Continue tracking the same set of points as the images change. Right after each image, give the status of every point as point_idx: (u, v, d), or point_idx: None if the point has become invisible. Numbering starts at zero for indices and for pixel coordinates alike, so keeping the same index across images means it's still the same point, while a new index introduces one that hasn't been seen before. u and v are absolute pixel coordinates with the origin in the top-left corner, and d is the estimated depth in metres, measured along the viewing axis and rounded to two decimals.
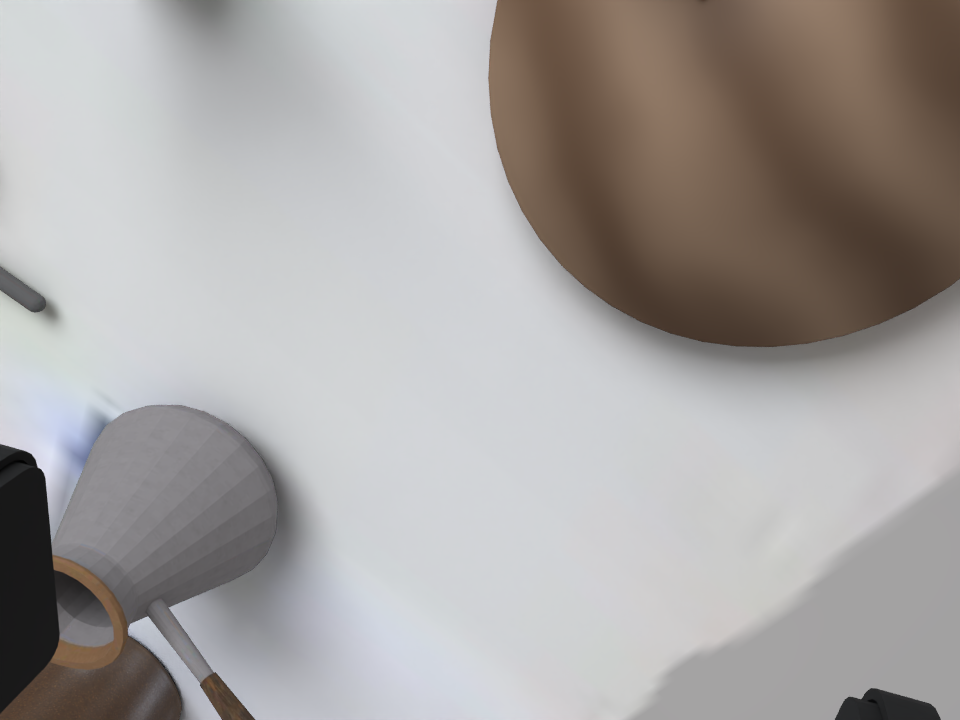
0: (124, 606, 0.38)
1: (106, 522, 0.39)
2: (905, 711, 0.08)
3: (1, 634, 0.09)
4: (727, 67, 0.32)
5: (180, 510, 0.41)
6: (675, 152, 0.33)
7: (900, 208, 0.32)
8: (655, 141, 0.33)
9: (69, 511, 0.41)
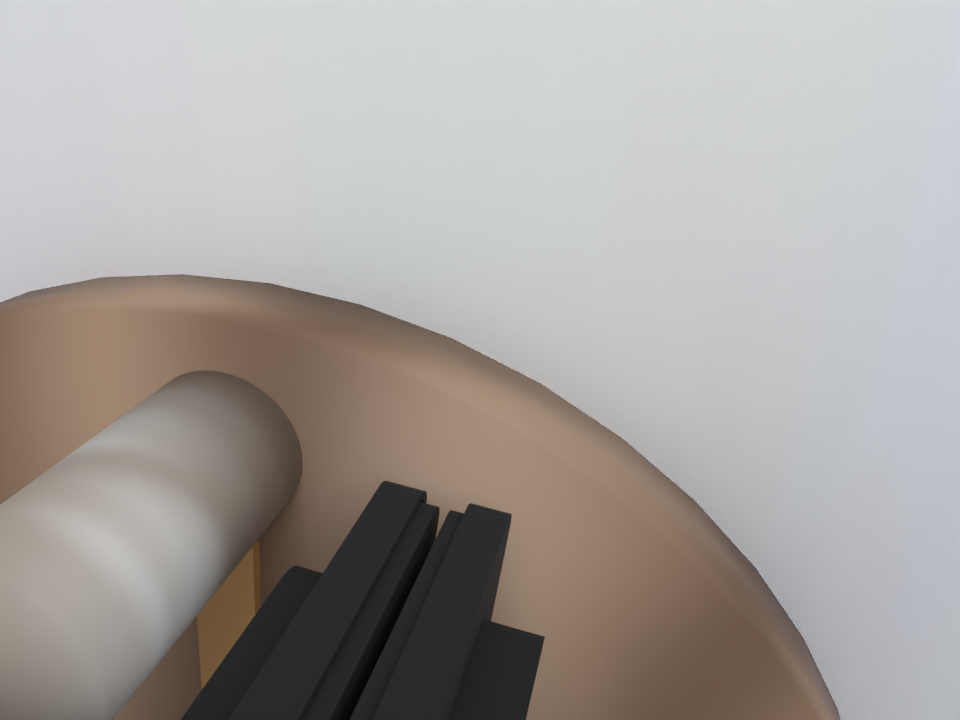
0: None
1: None
2: (480, 514, 0.09)
3: None
4: None
5: None
6: None
7: None
8: None
9: None
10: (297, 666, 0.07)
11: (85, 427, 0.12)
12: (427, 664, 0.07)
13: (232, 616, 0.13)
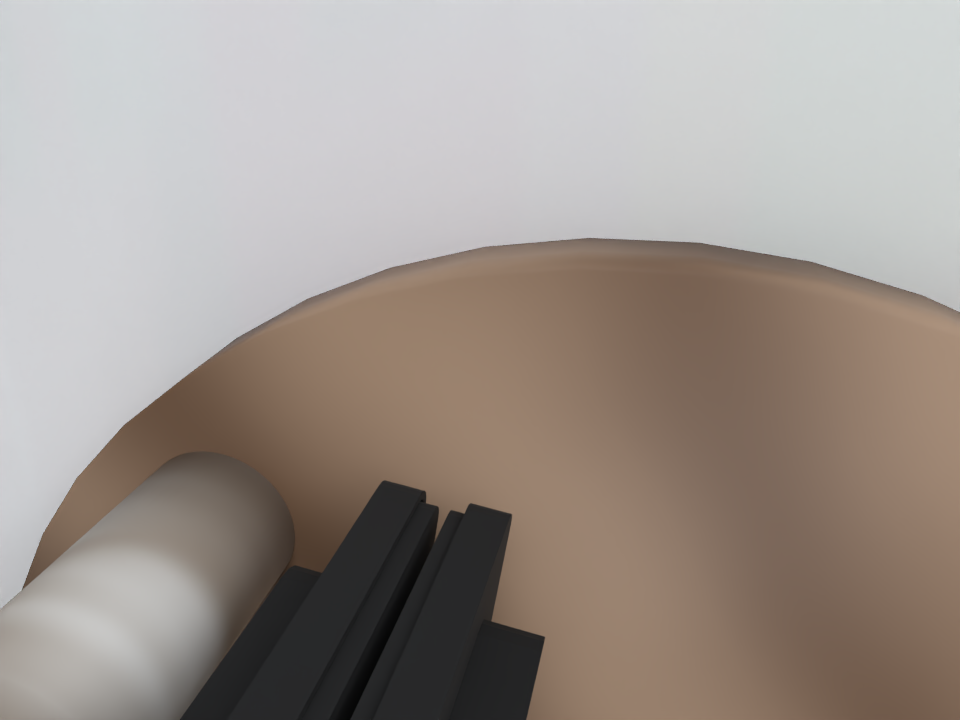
0: None
1: None
2: (480, 515, 0.09)
3: None
4: None
5: None
6: None
7: None
8: None
9: None
10: (296, 665, 0.07)
11: None
12: (428, 665, 0.07)
13: None
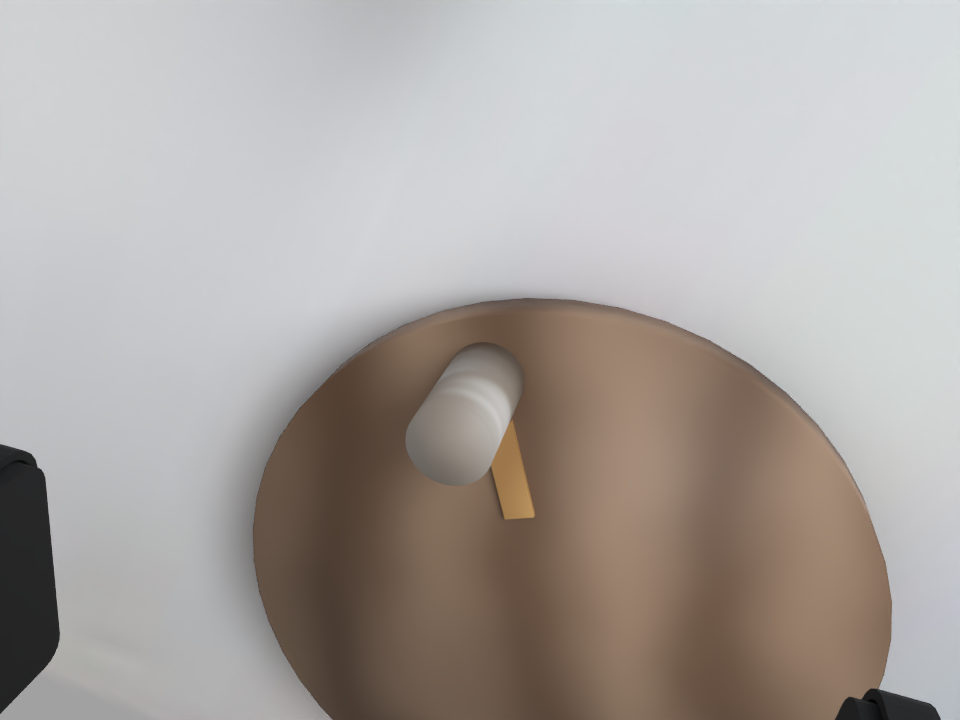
0: None
1: None
2: (905, 711, 0.08)
3: (1, 634, 0.09)
4: (509, 582, 0.28)
5: None
6: (431, 621, 0.30)
7: None
8: (415, 603, 0.30)
9: None
10: None
11: (420, 390, 0.26)
12: None
13: (508, 463, 0.26)
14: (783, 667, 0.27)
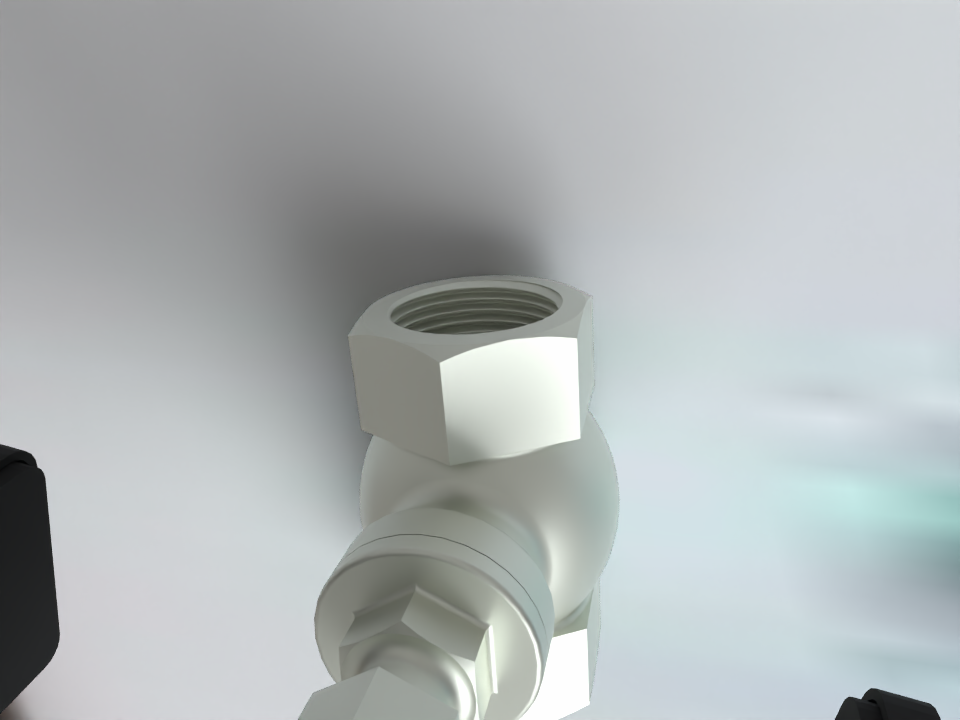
0: None
1: None
2: (905, 711, 0.08)
3: (1, 634, 0.09)
4: None
5: None
6: None
7: None
8: None
9: None
10: None
11: None
12: None
13: None
14: None
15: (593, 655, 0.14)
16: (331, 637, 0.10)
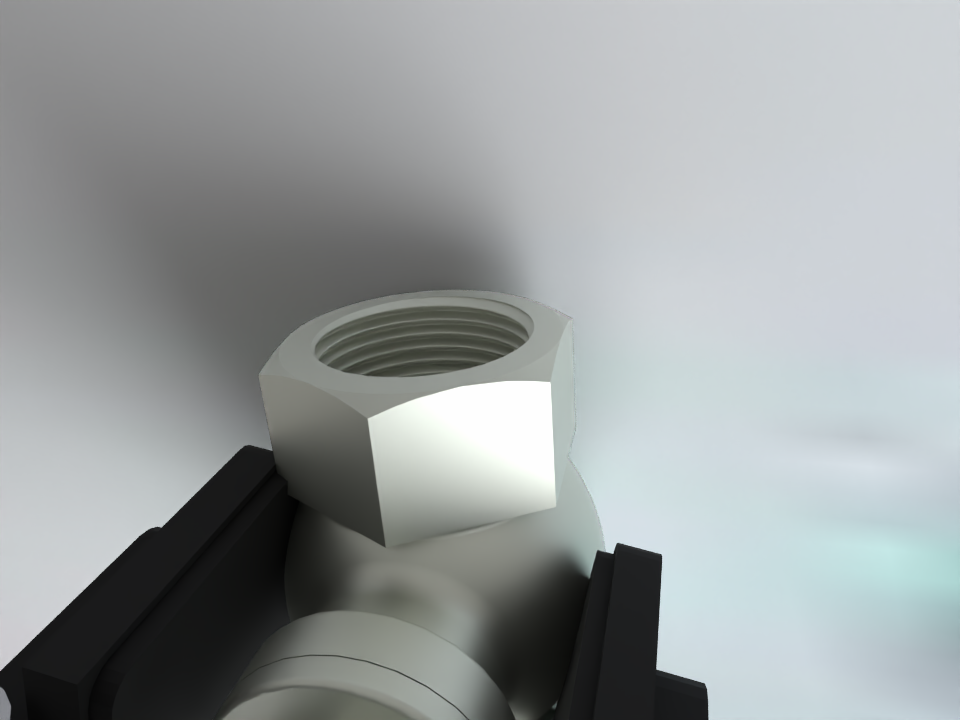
0: None
1: None
2: (633, 556, 0.09)
3: (265, 625, 0.10)
4: None
5: None
6: None
7: None
8: None
9: None
10: (112, 611, 0.07)
11: None
12: None
13: None
14: None
15: None
16: None
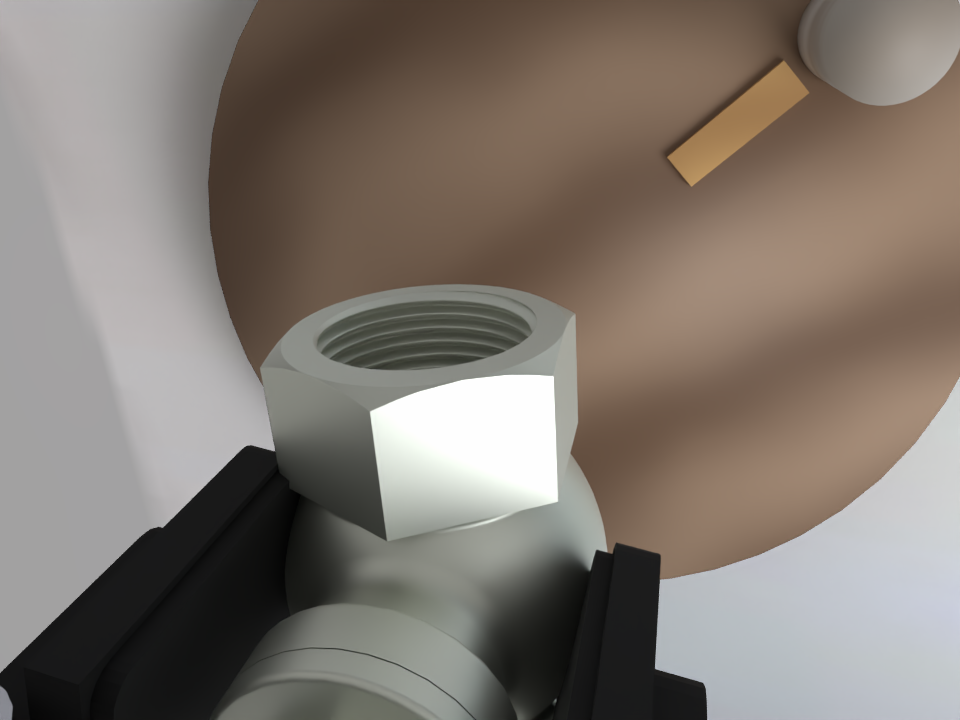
0: None
1: None
2: (631, 556, 0.09)
3: (266, 625, 0.10)
4: (577, 207, 0.23)
5: None
6: (456, 152, 0.23)
7: None
8: (467, 120, 0.22)
9: None
10: (114, 611, 0.07)
11: None
12: None
13: (749, 120, 0.21)
14: (663, 497, 0.26)
15: None
16: None
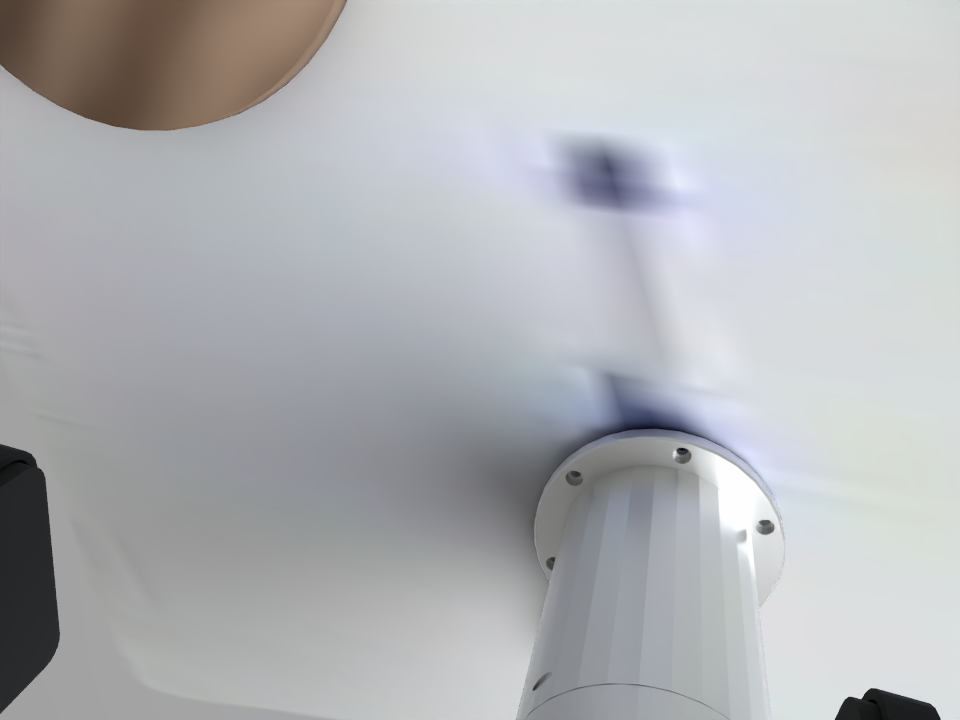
0: None
1: None
2: (905, 711, 0.08)
3: (1, 634, 0.09)
4: None
5: None
6: None
7: (47, 9, 0.37)
8: None
9: None
10: None
11: None
12: None
13: None
14: (203, 45, 0.36)
15: None
16: None
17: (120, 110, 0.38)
